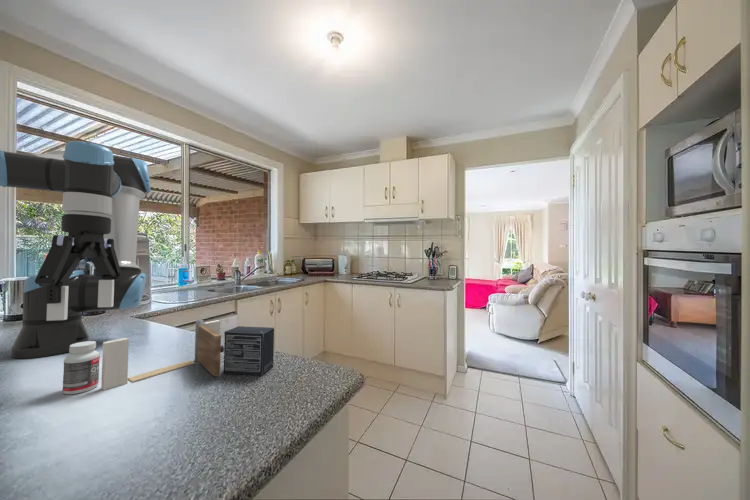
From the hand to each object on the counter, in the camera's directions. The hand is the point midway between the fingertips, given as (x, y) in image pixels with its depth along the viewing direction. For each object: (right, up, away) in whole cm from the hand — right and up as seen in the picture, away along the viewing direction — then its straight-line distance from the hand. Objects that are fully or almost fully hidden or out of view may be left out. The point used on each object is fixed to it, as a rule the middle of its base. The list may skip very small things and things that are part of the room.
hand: (83, 312), depth 60 cm
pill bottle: (0, -17, 0) cm, 17 cm away
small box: (+31, -17, +11) cm, 37 cm away
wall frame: (+11, -17, +11) cm, 23 cm away
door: (+21, -17, +11) cm, 29 cm away
